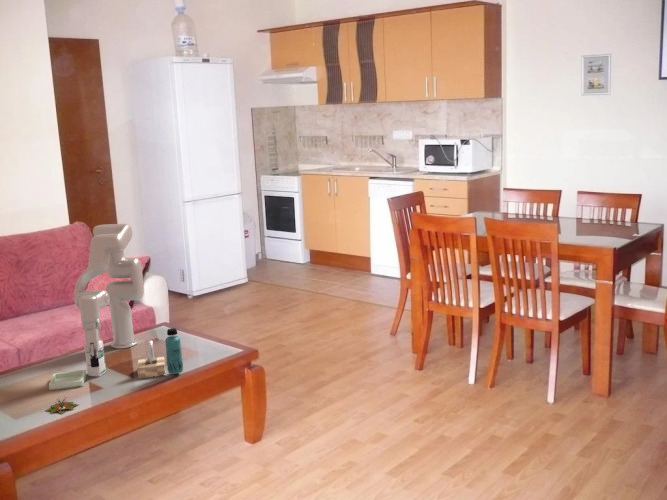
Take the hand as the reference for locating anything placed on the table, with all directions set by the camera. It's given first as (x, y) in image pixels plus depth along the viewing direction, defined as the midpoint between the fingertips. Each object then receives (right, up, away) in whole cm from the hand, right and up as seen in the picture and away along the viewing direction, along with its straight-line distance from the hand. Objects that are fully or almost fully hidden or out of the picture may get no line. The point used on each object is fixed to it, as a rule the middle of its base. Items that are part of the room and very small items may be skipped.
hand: (96, 363), depth 298 cm
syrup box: (0, -5, +1) cm, 5 cm away
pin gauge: (+24, -4, 0) cm, 24 cm away
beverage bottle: (+35, -4, -4) cm, 36 cm away
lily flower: (-2, -12, -32) cm, 35 cm away
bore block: (+24, -4, 0) cm, 24 cm away
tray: (-9, -7, -7) cm, 14 cm away
